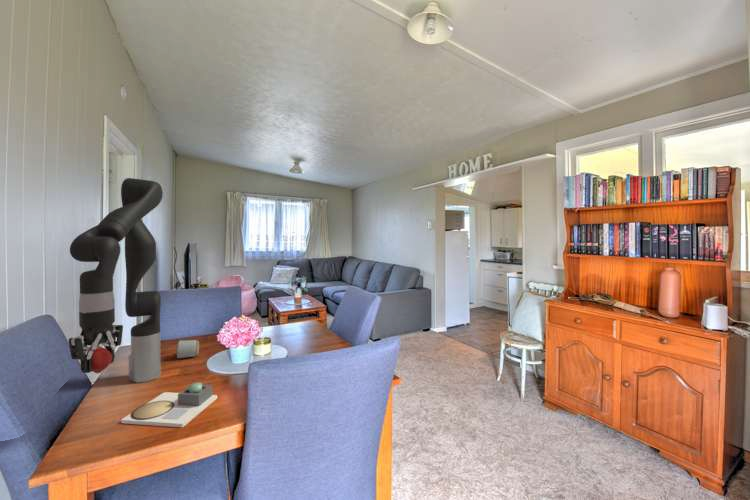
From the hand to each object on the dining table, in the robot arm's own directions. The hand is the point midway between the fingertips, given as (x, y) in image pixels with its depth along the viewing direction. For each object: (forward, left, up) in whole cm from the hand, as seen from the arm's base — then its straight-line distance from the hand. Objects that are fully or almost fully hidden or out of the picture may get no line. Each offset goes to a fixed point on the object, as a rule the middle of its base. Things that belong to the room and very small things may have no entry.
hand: (98, 367), depth 90 cm
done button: (+18, +16, -14) cm, 28 cm away
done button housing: (+18, +16, -17) cm, 30 cm away
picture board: (+13, +11, -17) cm, 25 cm away
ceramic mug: (-13, +55, -18) cm, 59 cm away
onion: (0, 0, -2) cm, 2 cm away
